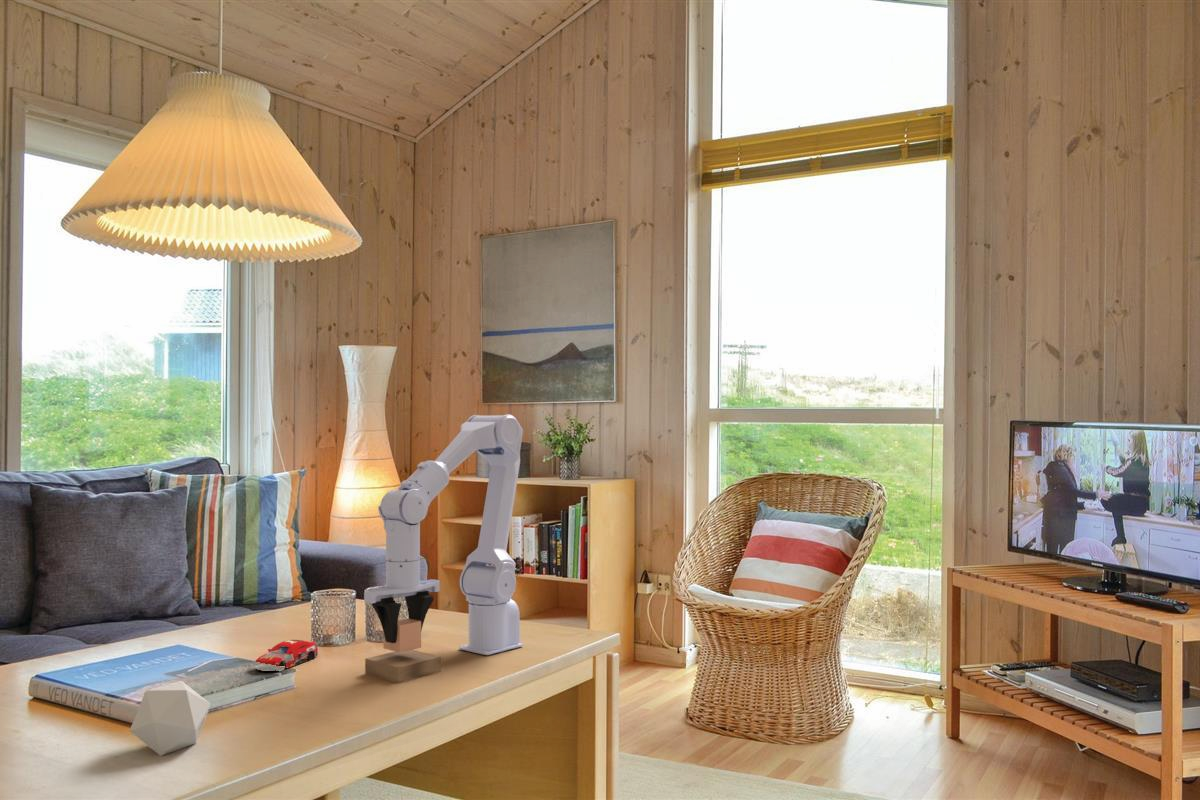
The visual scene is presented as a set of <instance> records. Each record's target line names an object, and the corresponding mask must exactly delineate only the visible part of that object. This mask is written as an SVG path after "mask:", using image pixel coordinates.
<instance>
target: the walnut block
mask: <svg viewBox="0 0 1200 800" xmlns="http://www.w3.org/2000/svg"><path fill="white" fill-rule="evenodd" d="M441 661H442V656H439V655H435V654H430V653H427V652H424V651H423V652H422V651H419V650H416V649H413V650H409V651H404V652H396V651H392V652H388V653H383V654H380V655H379V654H378V655H375V656H374V655H373V656H371V657H366V658H364V664H365V669H364V674H365V675H367V676H372V677H374V678H375V677H376V678H377V679H382V680H386V681H389V682H392V681H393V682H392V683H395V682H396V684H401V683H404V682H405V683H406V682H409V681H411V680H415V679H420V678H422V677H423V678H425V677H427V676H431V675H434V674H438V673H441V672H442V671H441V670H442V669H441V667H442V662H441Z"/></svg>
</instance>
